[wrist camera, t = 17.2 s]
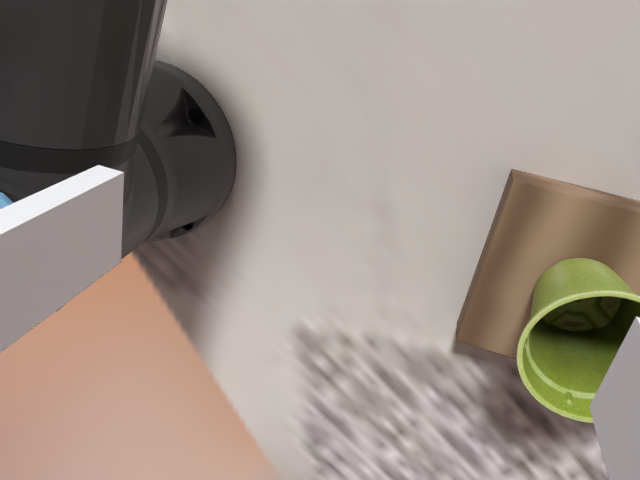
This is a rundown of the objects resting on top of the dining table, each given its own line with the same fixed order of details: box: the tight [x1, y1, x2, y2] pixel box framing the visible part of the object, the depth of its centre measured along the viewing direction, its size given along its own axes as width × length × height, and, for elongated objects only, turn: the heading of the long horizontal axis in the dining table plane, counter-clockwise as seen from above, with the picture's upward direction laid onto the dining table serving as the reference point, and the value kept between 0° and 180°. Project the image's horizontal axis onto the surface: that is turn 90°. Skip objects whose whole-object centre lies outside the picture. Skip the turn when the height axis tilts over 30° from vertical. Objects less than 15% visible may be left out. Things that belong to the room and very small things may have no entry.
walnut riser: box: [456, 169, 640, 359], centre depth 43 cm, size 14×14×3 cm
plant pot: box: [517, 258, 640, 423], centre depth 38 cm, size 9×9×9 cm
